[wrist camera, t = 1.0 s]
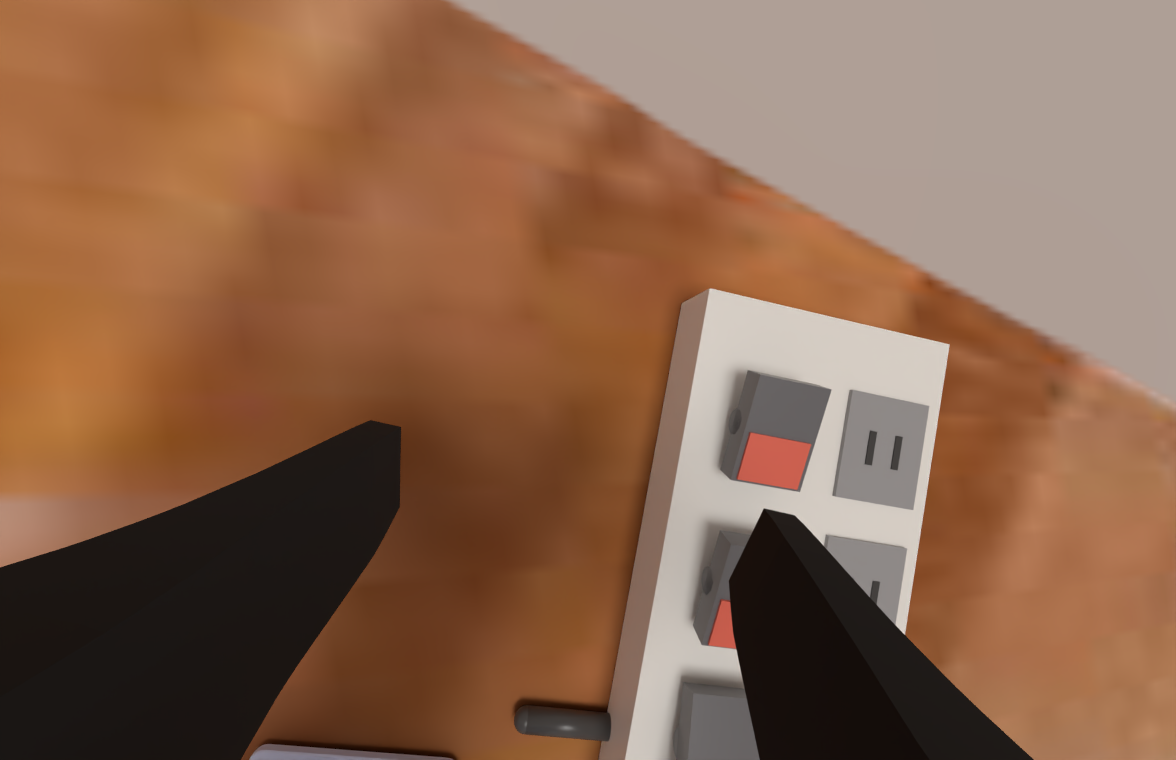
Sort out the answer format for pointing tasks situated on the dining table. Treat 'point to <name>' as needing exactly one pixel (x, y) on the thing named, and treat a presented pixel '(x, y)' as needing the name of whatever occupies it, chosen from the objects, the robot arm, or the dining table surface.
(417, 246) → the dining table surface
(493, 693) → the dining table surface
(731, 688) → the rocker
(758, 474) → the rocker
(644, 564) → the power strip
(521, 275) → the dining table surface
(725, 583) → the rocker middle
